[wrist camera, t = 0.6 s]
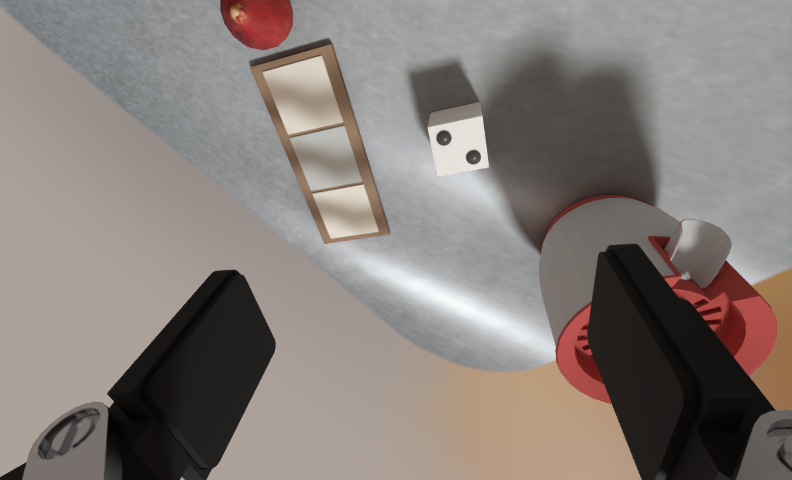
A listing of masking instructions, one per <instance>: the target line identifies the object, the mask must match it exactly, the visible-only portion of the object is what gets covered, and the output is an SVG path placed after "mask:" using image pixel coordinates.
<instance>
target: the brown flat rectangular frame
mask: <svg viewBox="0 0 792 480" xmlns="http://www.w3.org/2000/svg"><path fill="white" fill-rule="evenodd" d="M250 69H251V71H252V74H253V76H254V79H255V81H256V83H257V86H258V88H259V90H260V93H261V95H262V97H263V100H264V102H265V105H266V107H267V109H268V112H269V114H270V116H271V119H272V121H273V123H274V126H275V128H276V130H277V133H278V135H279V138H280V140H281V142H282V145H283V147H284V149H285V152H286V154H287V156H288V159H289V161H290V164H291V166H292V168H293V171H294V173H295V175H296V178H297V180H298V182H299V185H300V187H301V190H302V192H303V194H304V197H305V199H306V201H307V204H308V206H309V208H310V211H311V213H312V216H313V218H314V220H315V223H316V225H317V227H318V230H319V232H320V234H321V237H322V239H323V242H324V244H327V243H333V242H340V241H347V240H354V239H361V238H368V237H375V236H382V235H389V234H390V230H389V226H388V223H387V220H386V217H385V213H384V210H383V207H382V203H381V200H380V197H379V194H378V190H377V187H376V184H375V181H374V177H373V174H372V171H371V168H370V164H369V161H368V158H367V155H366V151H365V148H364V145H363V141H362V138H361V135H360V132H359V128H358V125H357V122H356V119H355V115H354V112H353V109H352V106H351V102H350V99H349V96H348V93H347V89H346V86H345V83H344V79H343V76H342V73H341V70H340V66H339V63H338V60H337V57H336V53H335V50H334V47H333V44H329V45H326V46H322V47H319V48H315V49H312V50H308V51H305V52H302V53H298V54H295V55H291V56H288V57H284V58H281V59H277V60H274V61H270V62H267V63H263V64H260V65H256V66H253V67H250Z"/></svg>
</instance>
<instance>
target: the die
mask: <svg viewBox="0 0 792 480" xmlns="http://www.w3.org/2000/svg"><path fill="white" fill-rule="evenodd" d="M428 132H429V137H430V142H431V146H432V151H433V156H434V161H435V166H436V170H437V175H438V176H444V175H449V174H455V173H460V172H466V171H472V170H477V169H483V168H488V167H489V163H488V155H487V147H486V140H485V132H484V124H483V117H482V111H481V106H480V102H477V103H472V104H468V105H463V106H459V107H454V108H450V109H445V110H441V111H436V112H432V113H431V114H430V118H429V123H428Z"/></svg>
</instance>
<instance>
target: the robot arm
mask: <svg viewBox="0 0 792 480" xmlns="http://www.w3.org/2000/svg"><path fill="white" fill-rule="evenodd" d="M587 338H588V344H589V347H590V350H591V352H592V355H593V357H594V360H595V363H596V365H597V368H598V370H599V373H600V375H601V378H602V380H603V383H604V385H605V388H606V390H607V393H608V395H609V398H610V401H611V403H612V406H613V408H614V411H615V413H616V416H617V418H618V421H619V423H620V426H621V428H622V431H623V433H624V436H625V439H626V441H627V443H628V446H629V448H630V451H631V454H632V456H633V459H634V461H635V464H636V466H637V469H638V471H639V474H640V477H641V479H642V480H792V411H790V410H778V411H776V410H775V409H774V408H773V406H772V405H771V404H770V403H769V401H768V400H767V399H766V397H765V396H764V395H763V394H762V392H761V391H760V390H759V389H758V387H757V386H756V385H755V383H754V382H753V381H752V380H751V378H750V377H749V376H748V374H747V373H746V372H745V371H744V369H743V368H742V367H741V366H740V364H739V363H738V362H737V360H736V359H735V358H734V357H733V355H732V354H731V353H730V352H729V350H728V349H727V348H726V346H725V345H724V344H723V343H722V341H721V340H720V339H719V338H718V336H717V335H716V334H715V332H714V331H713V330H712V329H711V327H710V326H709V325H708V324H707V322H706V321H705V320H704V318H703V317H702V316H701V315H700V313H699V312H698V311H697V310H696V308H695V307H694V306H693V305H692V304H691V303H690V302H689V301H688V300H686V299H684V298H679V297H678V296H677V295H676V293H675V292H674V291H673V289H672V288H671V287H670V285H669V284H668V283H667V281H666V280H665V279H664V278H663V276H662V275H661V274H660V272H659V271H658V270H657V268H656V267H655V266H654V264H653V263H652V262H651V260H650V259H649V258H648V256H647V255H646V254H645V252H644V251H643V250H642V248H641V247H640V246H639V245H638V244H635V243H634V244H618V245H609V246H608V247H607V249H606V251H605V252H599V254H598V259H597V266H596V273H595V280H594V288H593V295H592V302H591V309H590V316H589V323H588V330H587ZM275 344H276V343H275V339H274V337H273V335H272V333H271V331H270V329H269V326H268V324H267V322H266V320H265V318H264V316H263V314H262V312H261V310H260V308H259V306H258V303H257V301H256V299H255V297H254V295H253V293H252V291H251V289H250V287H249V284H248V282H247V280H246V279H245V277H244V276H243V275H241V274H240V273H239V272H238V271H236V270H222V271H214V272H213V273H212V274H211V275H210V276H209V277H208V278H207V279H206V280H205V282H204V283H203V284H202V285H201V286H200V287H199V288H198V290H197V291H196V292H195V293H194V294H193V295H192V297H191V298H190V299H189V300H188V301H187V302H186V303H185V304H184V306H183V307H182V308H181V309H180V310H179V312H177V314H176V315H175V316H174V317H173V318H172V319H171V321H170V322H169V323H168V324H167V325H166V326H165V328H164V329H163V330H162V331H161V332H160V333H159V334H158V335H157V337H156V338H155V339H154V340H153V341H152V342H151V344H150V345H149V346H148V347H147V348H146V349H145V350H144V352H143V353H142V354H141V355H140V356H139V358H137V360H136V361H135V362H134V363H133V364H132V365H131V366H130V368H129V369H128V370H127V371H126V372H125V373H124V375H123V376H122V377H121V378H120V379H119V380H118V381H117V383H116V384H115V385H114V386H113V387H112V388H111V390H110V391H109V392H108V393H107V394H108V395H109V396H110V398H111V399H112V400H113V401H114V403H113V404H112V405H111V407H110V408H108V407H107V406H106V405H105V404H103V403H101V402H91V403H86V404H83V405H81V406H78V407H76V408H74V409H72V410H70V411H69V412H67V413H65V414H63V415H62V416H61V417H59V418H58V419H57V420H55V421H54V422H53V423H51V424H50V425H49V426H48V427H47V429H45V430H44V431H43V432H42V433H41V434H40V436H39V437H38V438H37V440H36V441H35V443H34V444H33V446H32V448H31V450H30V452H29V456H28V459H27V462H26V463H24V464H23V465H21V466H19V467H17V468H15V469H14V470H12V471H10V472H8V473H7V474H5V475H3V476H1V477H0V480H180V478H181V477H183V478H184V479H185V480H206V479H207V477H208V475H209V473H210V471H211V470H212V468H214V467H216V466H217V465H218V463H219V462H220V460H221V458H222V456H223V454H224V452H225V450H226V448H227V446H228V444H229V442H230V440H231V438H232V436H233V434H234V432H235V430H236V428H237V426H238V424H239V422H240V420H241V418H242V416H243V414H244V412H245V410H246V408H247V406H248V404H249V402H250V400H251V398H252V396H253V394H254V392H255V390H256V388H257V386H258V384H259V382H260V380H261V378H262V376H263V374H264V372H265V370H266V368H267V366H268V364H269V362H270V360H271V358H272V356H273V354H274V352H275V346H276V345H275Z"/></svg>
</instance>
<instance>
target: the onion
mask: <svg viewBox="0 0 792 480" xmlns="http://www.w3.org/2000/svg"><path fill="white" fill-rule="evenodd" d="M221 14H222V17H223V20H224V23H225V25H226V26H227V28H228V29H229V31H230V32H231V33H232V35H233V36H234V37H235V38H236V39H238V40H239V41H240V42H242V43H243V44H244V45H246V46H247V47H250V48H255V49H259V50H267V49H270V48H273V47H277V46H278V45H279V44H281V43H282V42H283V41H284V40H285V39H286V38H287V36H288V34H289V32H290V30H291V28H292V25H293V10H292V6H291V3H290V0H221Z"/></svg>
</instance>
